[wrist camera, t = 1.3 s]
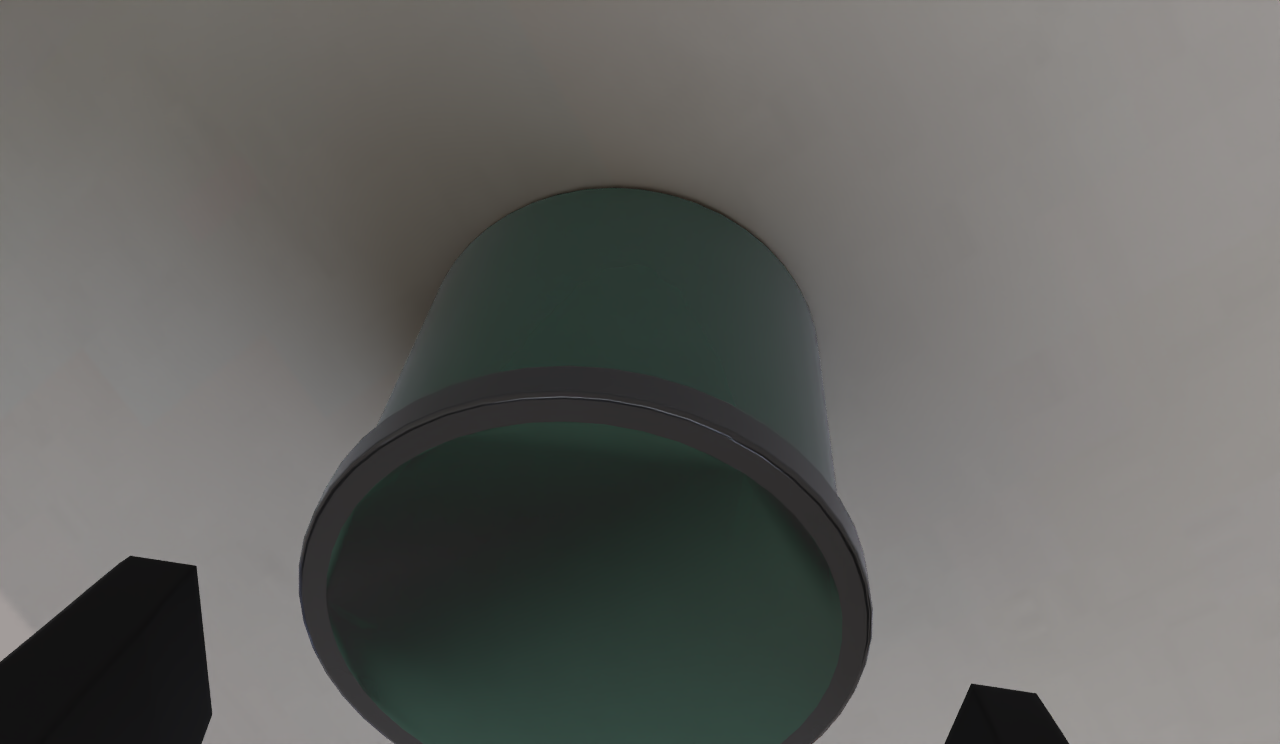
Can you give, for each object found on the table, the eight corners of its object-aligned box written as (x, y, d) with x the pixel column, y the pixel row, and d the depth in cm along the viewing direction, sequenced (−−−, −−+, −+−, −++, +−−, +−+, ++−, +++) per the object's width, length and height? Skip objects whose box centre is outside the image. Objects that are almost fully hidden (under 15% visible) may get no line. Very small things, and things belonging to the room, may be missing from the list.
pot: (371, 452, 17) (249, 722, 12) (482, 100, 14) (371, 301, 9) (731, 572, 17) (731, 865, 13) (911, 267, 14) (986, 521, 10)
